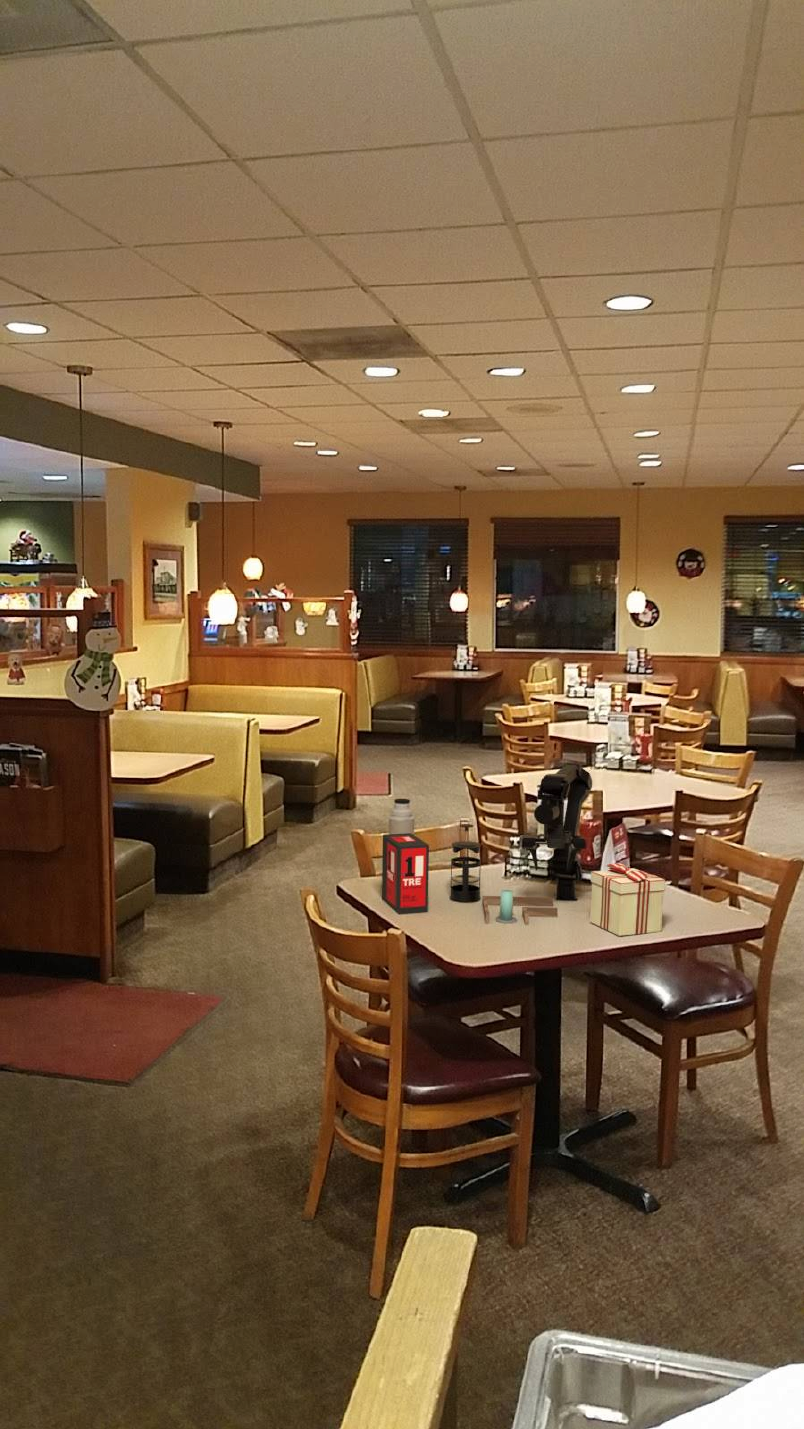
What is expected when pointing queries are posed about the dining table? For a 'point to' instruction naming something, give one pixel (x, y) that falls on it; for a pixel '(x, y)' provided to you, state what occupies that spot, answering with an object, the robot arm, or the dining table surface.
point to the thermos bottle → (401, 818)
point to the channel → (526, 911)
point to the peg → (506, 905)
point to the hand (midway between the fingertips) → (552, 870)
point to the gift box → (626, 900)
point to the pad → (506, 921)
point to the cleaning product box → (405, 873)
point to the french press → (465, 872)
